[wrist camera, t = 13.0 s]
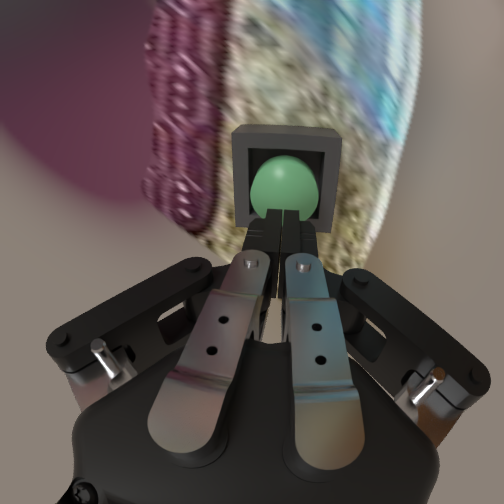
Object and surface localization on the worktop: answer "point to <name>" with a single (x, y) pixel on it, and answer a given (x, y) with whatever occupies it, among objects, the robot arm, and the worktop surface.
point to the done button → (284, 187)
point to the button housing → (292, 144)
